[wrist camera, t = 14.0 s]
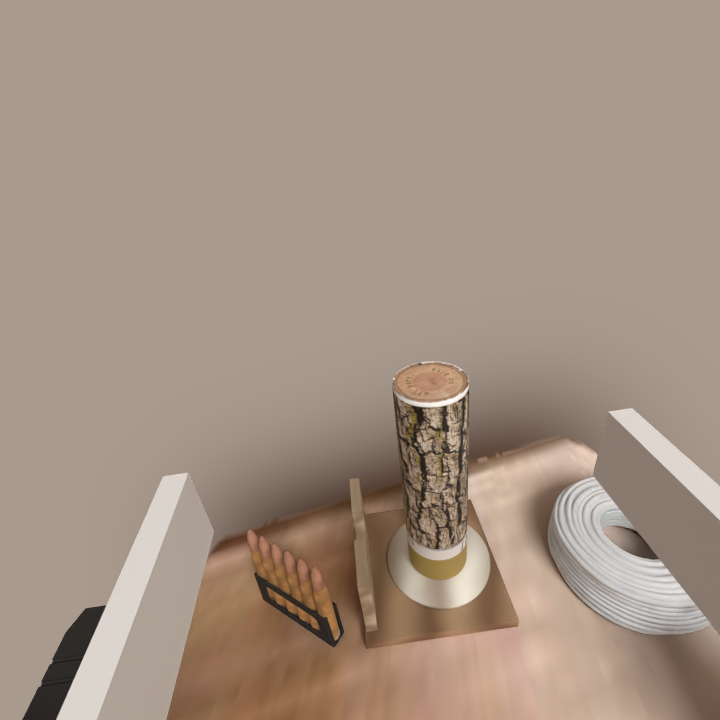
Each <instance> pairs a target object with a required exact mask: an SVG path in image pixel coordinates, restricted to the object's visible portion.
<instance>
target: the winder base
mask: <svg viewBox="0 0 720 720" xmlns="http://www.w3.org/2000/svg"><path fill="white" fill-rule="evenodd" d="M350 494H351V507H352V516H353V521H354V527H355V532H356V540H354V548H355V561H356V575H357V587H358V592H359V597H360V602H361V607H362V612H363V618H364V630H365V642H366V647H367V649H368V648H375V647H381V646H388V645H395V644H402V643H408V642H415V641H422V640H428V639H435V638H442V637H449V636H455V635H462V634H469V633H475V632H482V631H489V630H496V629H502V628H509V627H516V626H518V621H519V619H518V617H517V614H516V612H515V609H514V607H513V604H512V602H511V599H510V597H509V594H508V592H507V589H506V587H505V584H504V582H503V579H502V577H501V574H500V572H499V569H498V567H497V564H496V562H495V559H494V557H493V554H492V552H491V549H490V547H489V544H488V542H487V539H486V537H485V534H484V532H483V529H482V527H481V524H480V522H479V519H478V517H477V514H476V512H475V509H474V507H473V504H472V502H471V500H468V512H467V559H466V563H465V566H464V568H463V569H462V570H461V572H460V573H459V574H457V575H456V576H454V577H452V578H450V579H446V580H433V579H430V578H427V577H425V576H423V575H422V574H420V573H419V572H418V571H417V570H416V569H415V568H414V567H413V565H412V563H411V561H410V557H409V551H408V540H407V532H406V522H405V512H404V509H402V510H395V511H388V512H381V513H374V514H367V515H365V512H364V506H363V500H362V494H361V488H360V482H359V478H355V479H350Z"/></svg>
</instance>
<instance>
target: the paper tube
mask: <svg viewBox="0 0 720 720" xmlns="http://www.w3.org/2000/svg"><path fill="white" fill-rule="evenodd" d="M393 397H394V408H395V418H396V429H397V439H398V449H399V459H400V470H401V480H402V491H403V501H404V512H405V522H406V532H407V540H408V551H409V557H410V561H411V563H412V565H413V567H414V568H415V569H416V570H417V571H418V572H419V573H420V574H422V575H423V576H425V577H427V578H430V579H433V580H446V579H450V578H452V577H454V576H456V575H457V574H459V573H460V572H461V570H462V569H463V568H464V566H465V563H466V559H467V512H468V432H469V427H468V425H469V379H468V376H467V374H466V373H465V372H464V371H463V370H462V369H460V368H459V367H457V366H455V365H451V364H449V363H444V362H436V361H433V362H432V361H428V362H420V363H415V364H412V365H409V366H407V367H405V368H403V369H401V370H400V371H399V372H397V374H396V375H395V376H394V378H393Z"/></svg>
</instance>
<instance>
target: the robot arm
mask: <svg viewBox="0 0 720 720" xmlns="http://www.w3.org/2000/svg"><path fill="white" fill-rule="evenodd" d="M593 476H594V477H595V479H596V480H597V481H598V482H599V484H600V485H601V486H602V487H603V489H604V490H605V491H606V492H607V494H608V495H609V496H610V498H611V499H612V500H613V501H614V503H615V504H616V505H617V506H618V508H619V509H620V510H621V511H622V513H623V514H624V515H625V516H626V518H627V519H628V520H629V521H630V523H631V524H632V525H633V526H634V528H635V529H636V530H637V531H638V533H639V534H640V535H641V537H642V538H643V539H644V540H645V542H646V543H647V544H648V545H649V547H650V548H651V549H652V550H653V552H654V553H655V554H656V555H657V557H658V558H659V559H660V560H661V562H662V563H663V564H664V565H665V567H666V568H667V569H668V570H669V572H670V573H671V574H672V576H673V577H674V578H675V579H676V581H677V582H678V583H679V584H680V586H681V587H682V588H683V589H684V591H685V592H686V593H687V594H688V596H689V597H690V598H691V599H692V601H693V602H694V603H695V604H696V606H697V607H698V608H699V609H700V611H701V612H702V613H703V614H704V616H705V617H706V618H707V620H708V621H709V622H710V623H711V625H712V626H713V627H714V628H715V630H716V631H717V632H718V633H719V635H720V486H719V485H718V484H717V483H715V482H714V481H713V480H712V479H711V478H710V477H709V476H707V475H706V474H705V473H704V472H703V471H702V470H701V469H700V468H699V467H697V466H696V465H695V464H694V463H693V462H692V461H691V460H690V459H688V458H687V457H686V456H685V455H684V454H683V453H682V452H681V451H679V450H678V449H677V448H676V447H675V446H674V445H673V444H672V443H670V442H669V441H668V440H667V439H666V438H665V437H664V436H663V435H661V434H660V433H659V432H658V431H657V430H656V429H655V428H653V427H652V426H651V425H650V424H649V423H648V422H647V421H646V420H645V419H643V418H642V417H641V416H640V415H639V414H638V413H637V412H636V411H634V410H633V409H632V408H630V409H624V410H617V411H610V412H608V415H607V419H606V423H605V427H604V431H603V435H602V439H601V443H600V448H599V452H598V456H597V460H596V464H595V468H594V472H593ZM213 534H214V530H213V528H212V526H211V523H210V521H209V519H208V516H207V514H206V512H205V510H204V507H203V505H202V503H201V500H200V498H199V496H198V493H197V491H196V489H195V486H194V484H193V482H192V479H191V477H190V475H189V473H183V474H175V475H168V476H163V478H162V480H161V483H160V485H159V487H158V490H157V492H156V494H155V496H154V498H153V501H152V503H151V505H150V508H149V510H148V512H147V515H146V517H145V519H144V521H143V523H142V526H141V528H140V530H139V533H138V535H137V537H136V539H135V542H134V544H133V546H132V549H131V551H130V553H129V555H128V558H127V560H126V562H125V565H124V567H123V569H122V571H121V574H120V576H119V578H118V580H117V583H116V585H115V587H114V589H113V592H112V594H111V596H110V599H109V601H108V603H107V605H105V606H100V607H92V608H86V609H85V610H84V611H83V612H82V614H81V615H80V616H79V617H78V618H77V620H76V621H75V622H74V623H73V624H72V626H71V627H70V628H69V629H68V631H67V632H66V633H65V635H64V637H63V639H62V641H61V643H60V645H59V647H58V649H57V651H56V653H55V655H54V657H53V662H52V664H50V665H49V667H48V669H47V671H46V673H45V675H44V677H43V679H42V685H41V687H39V688H38V689H37V691H36V694H35V695H34V698H33V699H32V702H31V703H30V706H29V708H28V710H27V712H26V714H25V716H24V718H23V720H166V719H167V715H168V712H169V708H170V704H171V700H172V696H173V692H174V688H175V684H176V680H177V676H178V672H179V668H180V664H181V660H182V656H183V652H184V648H185V644H186V641H187V637H188V633H189V629H190V625H191V621H192V617H193V613H194V609H195V605H196V601H197V597H198V593H199V589H200V585H201V581H202V577H203V573H204V570H205V566H206V562H207V558H208V554H209V550H210V546H211V542H212V538H213Z"/></svg>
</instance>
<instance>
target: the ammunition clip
mask: <svg viewBox="0 0 720 720" xmlns="http://www.w3.org/2000/svg"><path fill="white" fill-rule="evenodd" d="M247 540H248V545H249V548H250V552H251V556H252V561H253V564H254V567H255V569H256V573H255V574H254V575H255V577H256V580H257V583H258V586H259V588H260V591H261V594H262V597H263V600H265V601H266V602H268V603H269V604H271V605H272V606H274V607H275V608H277V609H278V610H280V611H281V612H283V613H284V614H285V615H287V616H288V617H290V618H291V619H293V620H294V621H296V622H297V623H299V624H300V625H302V626H303V627H304V628H306V629H307V630H309V631H310V632H312V633H313V634H315V635H316V636H318V637H319V638H321V639H322V640H324V641H325V642H326V643H328V644H329V645H331V646H332V647H335V646H336V644H337V643H338V641H339V639H340V638H341V636H342V635H343V633H344V630H343V627H342V624H341V620H340V617H339V613H338V610H337V607H336V604H335V603H333V602H332V600H331V596H330V593H329V590H328V588H327V587H326V584H325V582H324V579H323V576H322V574H321V572H320V571H319V569H318V568H317V567H316V566H313V567H312V570H311V573H310V570H309V568H308V566H307V564H306V562H305V561H304V560H303V559H302V558H299V559H298V562H297V563H296V560H295V558H294V557H293V555H292V554H291V553H290V552H289V551H288V550H286V551H285V554H283V552H282V550H281V549H280V548H279V546H278V545H277V544H275V543H273V544H272V548H271V546H270V544H269V542H268V541H267V540H266V539H265V538H264V537H263V536H260V539H258V537H257V535H256V534H255V533H254V532H253V531H252V530H251V529H248V532H247Z"/></svg>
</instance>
